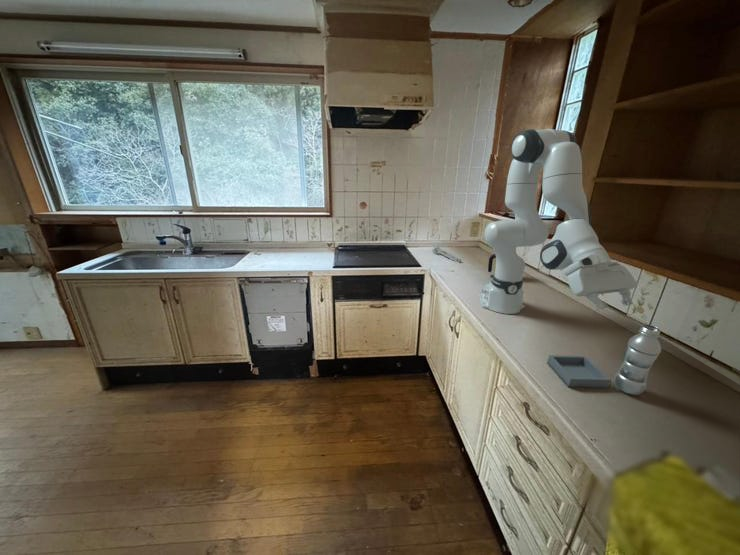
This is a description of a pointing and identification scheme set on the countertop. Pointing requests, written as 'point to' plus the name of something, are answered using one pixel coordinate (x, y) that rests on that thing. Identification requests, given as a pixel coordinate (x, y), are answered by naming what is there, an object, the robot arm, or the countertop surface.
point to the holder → (578, 372)
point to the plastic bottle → (638, 360)
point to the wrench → (444, 252)
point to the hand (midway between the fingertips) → (616, 306)
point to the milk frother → (491, 263)
